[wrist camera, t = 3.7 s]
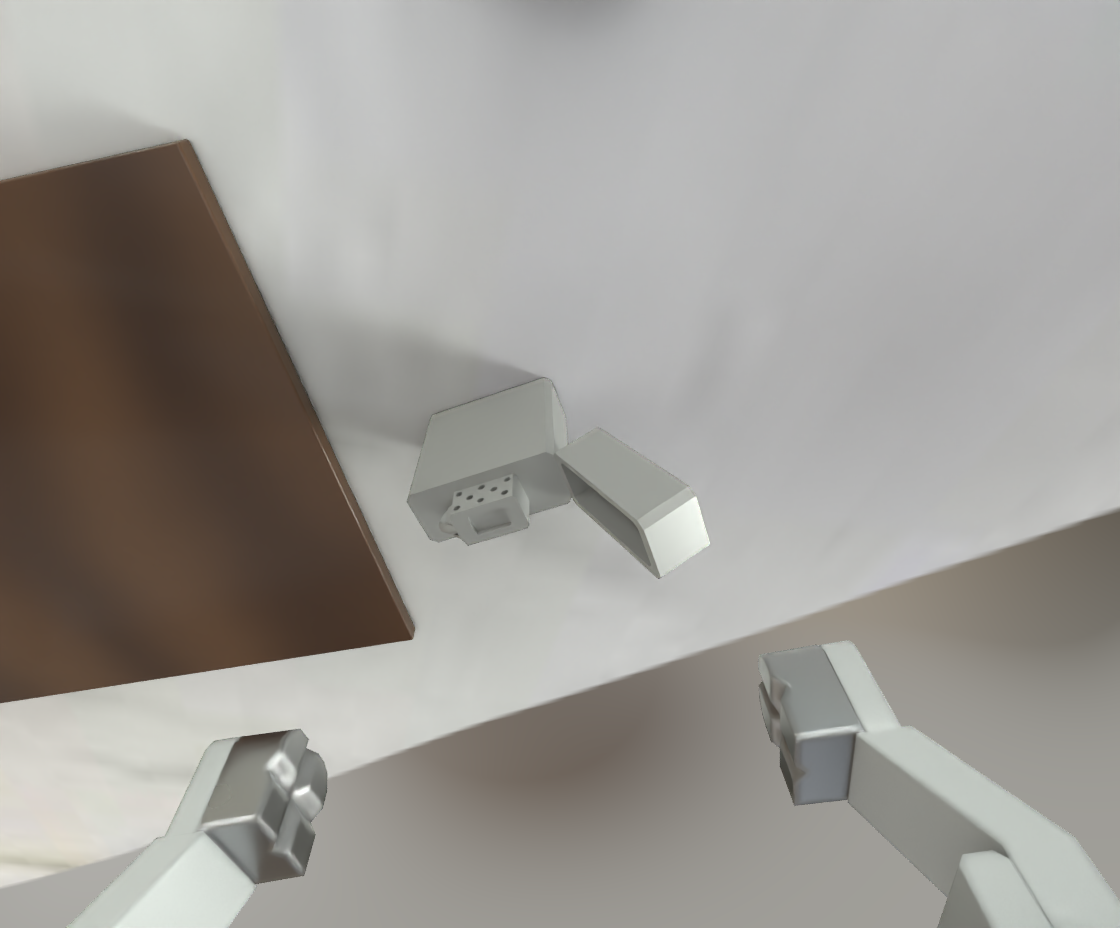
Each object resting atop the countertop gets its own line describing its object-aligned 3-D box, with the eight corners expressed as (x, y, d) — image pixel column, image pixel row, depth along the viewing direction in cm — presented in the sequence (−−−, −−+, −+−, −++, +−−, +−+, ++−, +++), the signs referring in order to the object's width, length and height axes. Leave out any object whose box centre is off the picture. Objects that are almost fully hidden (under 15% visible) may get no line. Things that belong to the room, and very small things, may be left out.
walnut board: (189, 138, 15) (178, 141, 15) (415, 628, 25) (413, 640, 25) (-505, 293, 17) (-537, 300, 16) (-35, 698, 27) (-46, 711, 26)
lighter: (450, 459, 21) (410, 652, 14) (427, 416, 20) (373, 601, 13) (656, 392, 20) (718, 568, 13) (641, 344, 19) (700, 506, 12)
